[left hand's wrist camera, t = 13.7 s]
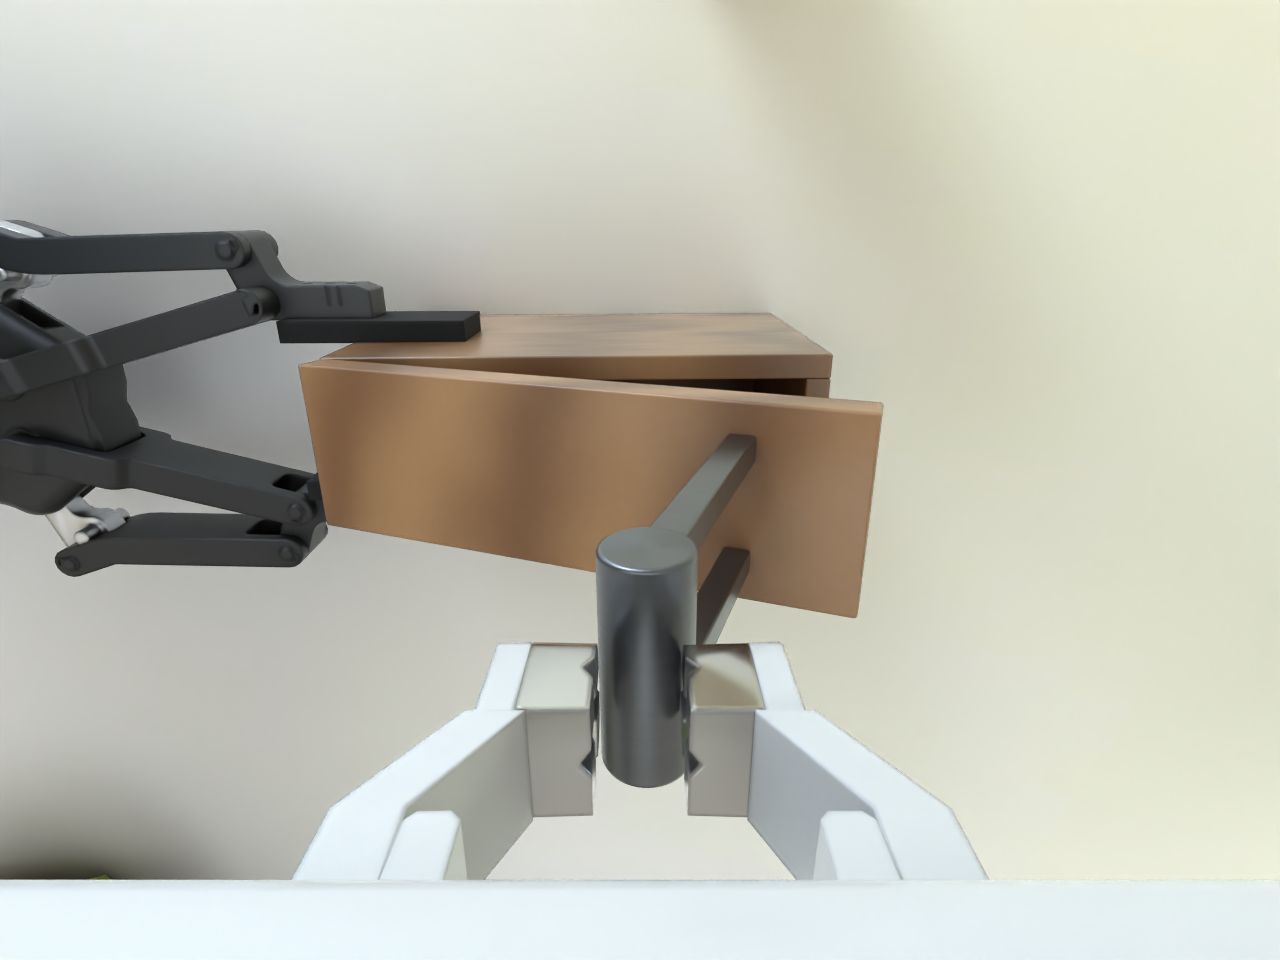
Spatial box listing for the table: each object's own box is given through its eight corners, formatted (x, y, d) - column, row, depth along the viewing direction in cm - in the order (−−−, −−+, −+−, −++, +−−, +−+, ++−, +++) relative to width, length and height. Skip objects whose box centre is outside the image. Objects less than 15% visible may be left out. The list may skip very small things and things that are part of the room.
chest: (771, 312, 31) (833, 354, 22) (764, 424, 33) (818, 508, 24) (415, 315, 31) (318, 358, 22) (428, 426, 33) (345, 512, 23)
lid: (884, 401, 16) (858, 563, 9) (859, 598, 18) (821, 874, 10) (323, 358, 21) (6, 434, 14) (350, 513, 23) (82, 653, 16)
